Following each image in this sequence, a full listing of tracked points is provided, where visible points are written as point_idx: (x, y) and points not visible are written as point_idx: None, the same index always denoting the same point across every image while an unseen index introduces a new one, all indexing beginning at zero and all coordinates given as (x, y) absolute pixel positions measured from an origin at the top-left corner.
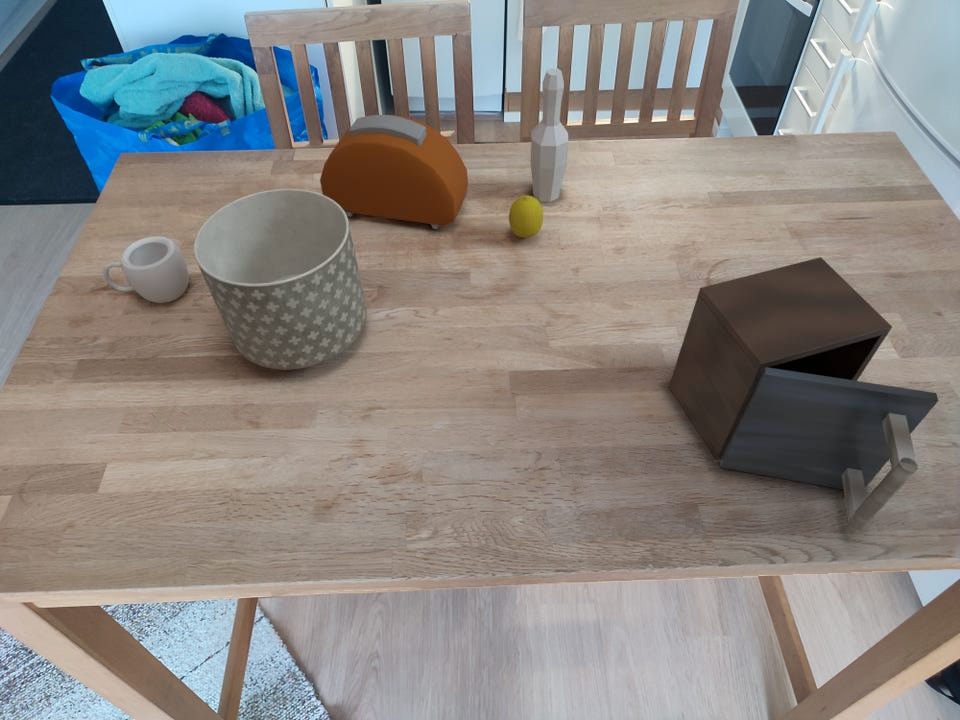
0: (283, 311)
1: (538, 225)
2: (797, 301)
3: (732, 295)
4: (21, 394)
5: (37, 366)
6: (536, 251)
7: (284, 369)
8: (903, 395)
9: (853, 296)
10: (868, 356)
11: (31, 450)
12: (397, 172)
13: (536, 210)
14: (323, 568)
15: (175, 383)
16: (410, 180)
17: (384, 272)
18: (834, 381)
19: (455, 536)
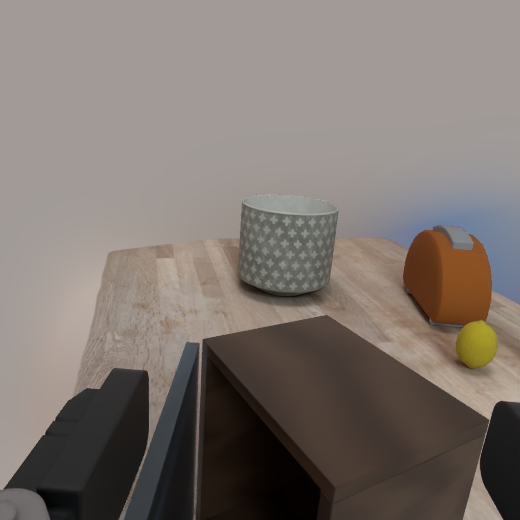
0: (244, 227)
1: (472, 352)
2: (343, 379)
3: (324, 331)
4: (212, 240)
5: (229, 240)
6: (456, 375)
7: (238, 274)
8: (141, 469)
9: (399, 444)
10: None
11: (180, 245)
12: (428, 260)
13: (477, 335)
14: (99, 308)
15: (228, 264)
16: (430, 269)
17: (360, 308)
18: (175, 392)
19: (113, 348)
